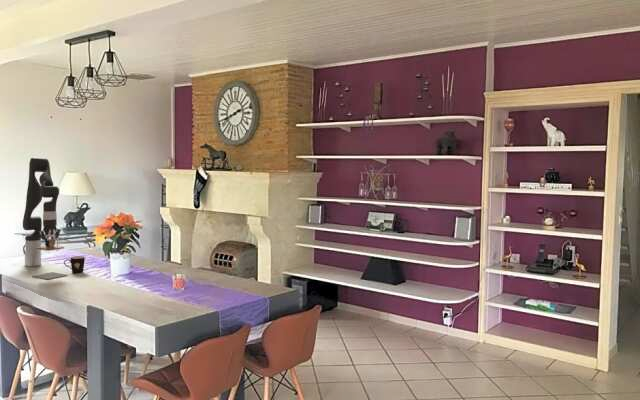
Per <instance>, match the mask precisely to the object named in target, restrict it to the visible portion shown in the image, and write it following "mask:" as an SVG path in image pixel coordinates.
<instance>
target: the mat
mask: <svg viewBox="0 0 640 400" xmlns="http://www.w3.org/2000/svg"><path fill="white" fill-rule="evenodd" d="M31 277H32V278H35V279H41V280H46V281H49V280H53V279H58V278H63V277H68V274H66V273H59V272H53V271H51V272H47V273H41V274H37V275H32V276H31Z"/></svg>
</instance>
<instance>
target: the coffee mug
mask: <svg viewBox="0 0 640 400" xmlns="http://www.w3.org/2000/svg"><path fill="white" fill-rule="evenodd" d="M69 258H70V259H69ZM69 258H68V259H65V260H64V261H63V264H64V265H65V266H66V267H67V268H69V269H71V273H72V274H73V275H76V274H82V273H84V267H85V260H86V256H82V255H76V256H75V255H74V256H70V257H69ZM67 261H69V263H70V265H69V266H68V265H67V264H66V262H67Z"/></svg>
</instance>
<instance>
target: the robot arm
mask: <svg viewBox="0 0 640 400" xmlns="http://www.w3.org/2000/svg"><path fill="white" fill-rule="evenodd" d="M28 165H29V167H28V168H29V169H28V183H27V190H26V198H25V200H26V201H25V209H24V213H23V214H24V215H23V219H22V227H23V230H24V231H33V232H31V233H30V234H27V235H26V236H25V251H24V265H25V266H26V267H37V266H41V265H42V250H40V249H36V247H42V241H44V246H46V247H49V239H54V245H55V246H56V239H58V238H59V236H60V233H61V229H60V228H59V229H58V228H57V219H58V217H57V202H58V198H59V195H60V188H59V187H58V186H56V185H54V181H53V179H52V173H51V167H50V166H51V165H50V162H49V159H47V158H46V157H30V159H29V163H28ZM36 173H41V174H40V176H39V179H37V177H36ZM38 180H39V181H38ZM43 198H46V199H49V198H51V199H50V200H48V201H44V202H43V206H42V209H43V212H42V218H41V216H39V215H38V216H37V215H34V216H33V212H34V211H35V209H36V208H37V207H38V206H39V205H40V203H41V202H42V199H43ZM42 228H43V229H42Z"/></svg>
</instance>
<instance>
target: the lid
mask: <svg viewBox="0 0 640 400" xmlns="http://www.w3.org/2000/svg"><path fill="white" fill-rule="evenodd" d="M36 249H40V250H41V251H48V252H50V251H57V250H64V249H65V246H62V245H56V244H55V245H54V239H51V238H49V247H46V246H45V245H44V246H43V245H41V247H36Z"/></svg>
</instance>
